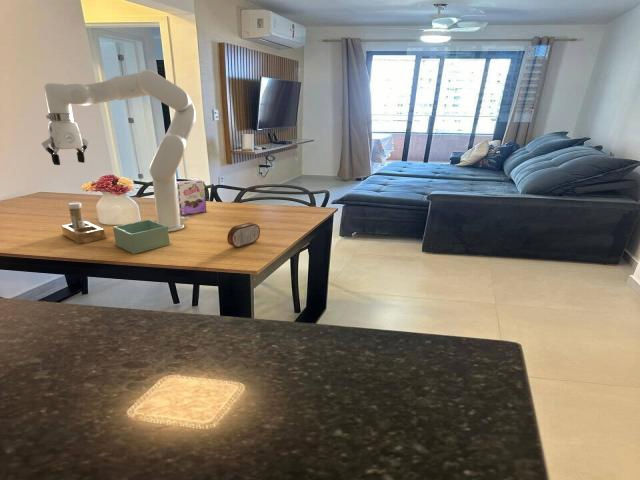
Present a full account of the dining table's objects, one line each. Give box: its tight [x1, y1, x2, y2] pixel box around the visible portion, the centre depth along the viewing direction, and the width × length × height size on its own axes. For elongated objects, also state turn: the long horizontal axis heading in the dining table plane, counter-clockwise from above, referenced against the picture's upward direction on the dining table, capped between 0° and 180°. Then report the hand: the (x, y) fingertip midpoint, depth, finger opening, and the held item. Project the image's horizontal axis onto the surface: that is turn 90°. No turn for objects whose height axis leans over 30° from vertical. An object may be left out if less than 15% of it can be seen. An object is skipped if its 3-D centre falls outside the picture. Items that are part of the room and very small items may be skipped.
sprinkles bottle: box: [67, 201, 85, 229], centre depth 157 cm, size 5×5×14 cm
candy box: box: [176, 179, 207, 217], centre depth 194 cm, size 14×6×16 cm, turn 129°
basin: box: [112, 219, 171, 255], centre depth 148 cm, size 14×14×8 cm
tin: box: [226, 221, 261, 248], centre depth 151 cm, size 15×3×8 cm, turn 141°
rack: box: [61, 220, 106, 245], centre depth 156 cm, size 10×18×4 cm, turn 51°
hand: (69, 163), depth 151 cm, fingers open, 9 cm apart
